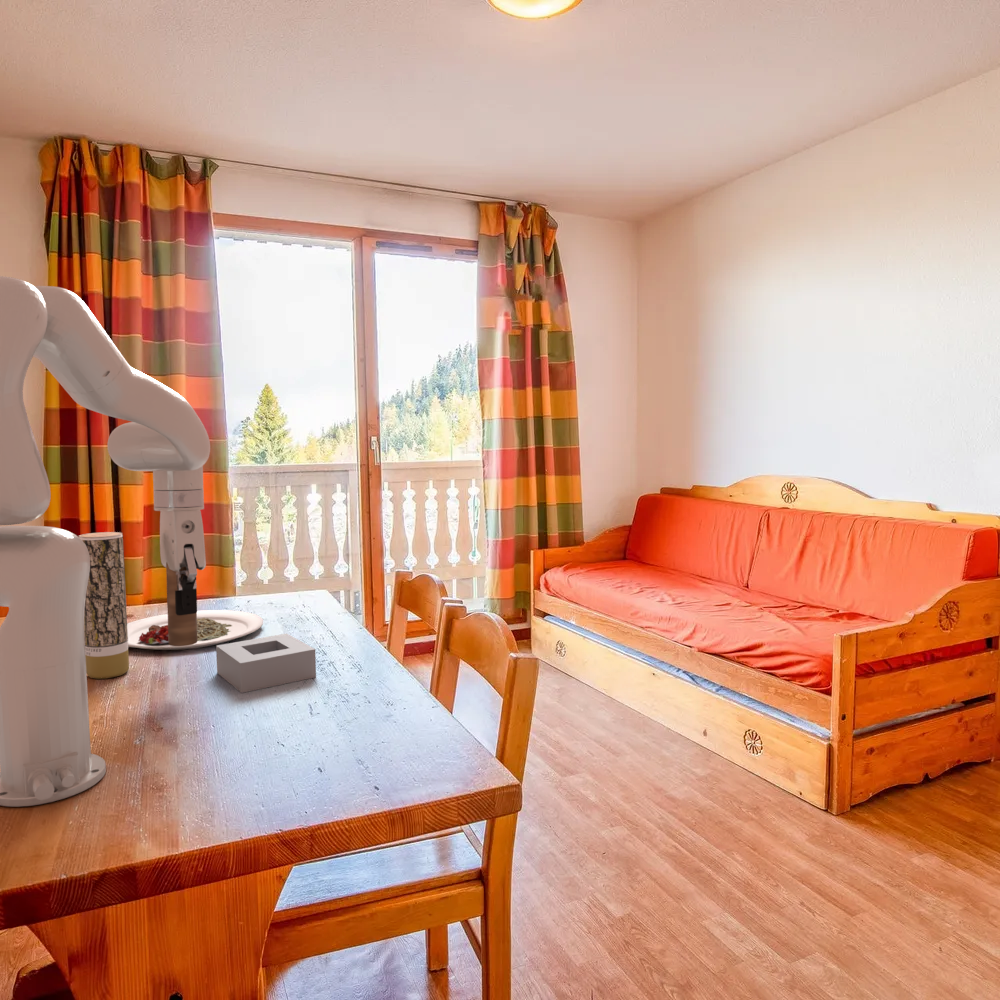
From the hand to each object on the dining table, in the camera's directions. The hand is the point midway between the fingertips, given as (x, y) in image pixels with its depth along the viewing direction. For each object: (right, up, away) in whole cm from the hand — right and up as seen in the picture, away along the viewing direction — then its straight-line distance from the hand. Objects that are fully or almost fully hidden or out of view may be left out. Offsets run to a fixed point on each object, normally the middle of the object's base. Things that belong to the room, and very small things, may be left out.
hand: (182, 610), depth 124 cm
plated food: (-14, -11, +37) cm, 40 cm away
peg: (0, -5, 0) cm, 5 cm away
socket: (+11, -13, +9) cm, 19 cm away
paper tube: (-17, -13, +10) cm, 24 cm away
